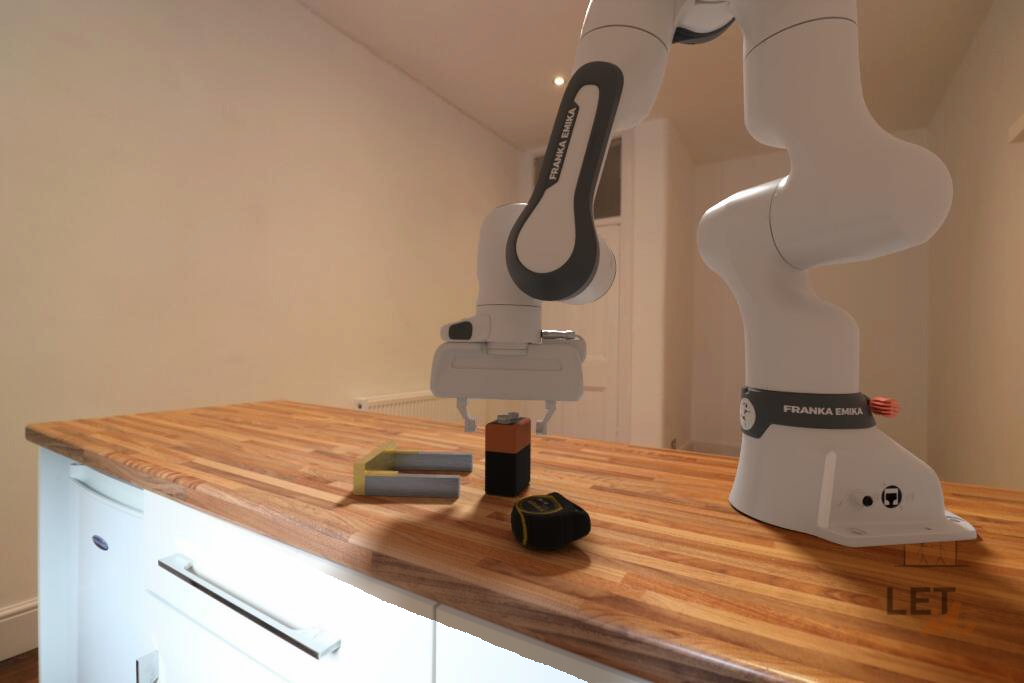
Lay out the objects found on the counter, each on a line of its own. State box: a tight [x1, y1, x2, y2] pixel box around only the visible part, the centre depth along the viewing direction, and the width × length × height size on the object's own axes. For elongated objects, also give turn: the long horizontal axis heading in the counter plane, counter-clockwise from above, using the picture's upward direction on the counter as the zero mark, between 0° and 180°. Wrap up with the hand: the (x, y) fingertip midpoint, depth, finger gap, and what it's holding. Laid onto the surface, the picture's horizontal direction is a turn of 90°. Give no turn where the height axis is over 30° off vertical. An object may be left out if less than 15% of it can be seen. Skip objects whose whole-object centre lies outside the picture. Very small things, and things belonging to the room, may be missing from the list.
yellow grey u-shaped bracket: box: [352, 440, 474, 499], centre depth 63 cm, size 14×12×4 cm
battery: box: [484, 411, 532, 498], centre depth 60 cm, size 4×7×10 cm, turn 160°
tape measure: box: [510, 491, 592, 550], centre depth 44 cm, size 7×7×4 cm
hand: (505, 433), depth 60 cm, fingers open, 8 cm apart
